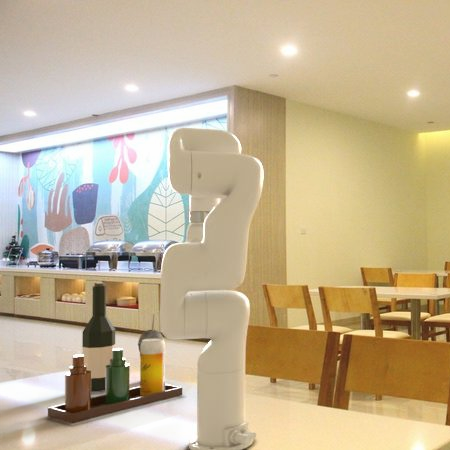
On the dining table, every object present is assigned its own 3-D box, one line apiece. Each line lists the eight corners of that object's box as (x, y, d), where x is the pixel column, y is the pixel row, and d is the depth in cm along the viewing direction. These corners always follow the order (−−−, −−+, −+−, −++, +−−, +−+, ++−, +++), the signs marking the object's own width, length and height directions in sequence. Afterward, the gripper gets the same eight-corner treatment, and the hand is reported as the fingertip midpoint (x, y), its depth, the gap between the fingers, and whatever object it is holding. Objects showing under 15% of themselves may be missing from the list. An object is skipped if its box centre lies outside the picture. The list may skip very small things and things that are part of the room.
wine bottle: (101, 394, 165) (102, 284, 166) (75, 393, 167) (75, 283, 168) (121, 387, 174) (122, 282, 174) (96, 385, 175) (96, 281, 176)
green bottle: (133, 404, 153) (134, 348, 154) (113, 409, 149) (113, 352, 149) (121, 401, 156) (121, 346, 157) (100, 406, 152) (101, 349, 152)
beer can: (141, 394, 163) (141, 338, 163) (165, 392, 165) (165, 337, 165) (139, 400, 157) (139, 342, 157) (164, 398, 159) (164, 340, 159)
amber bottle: (95, 413, 145) (96, 355, 145) (72, 419, 140) (73, 359, 141) (83, 410, 148) (83, 352, 148) (60, 416, 143) (60, 356, 144)
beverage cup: (131, 385, 176) (132, 315, 177) (149, 379, 183) (149, 312, 184) (152, 386, 174) (153, 316, 174) (169, 380, 181) (169, 313, 181)
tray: (182, 397, 163) (182, 387, 163) (71, 426, 138) (72, 414, 138) (157, 391, 168) (157, 382, 168) (47, 418, 144) (47, 407, 144)
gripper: (171, 219, 161) (171, 284, 160) (215, 218, 151) (215, 287, 151) (195, 220, 167) (195, 282, 166) (238, 219, 157) (238, 285, 157)
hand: (204, 284), depth 159 cm, fingers open, 9 cm apart
